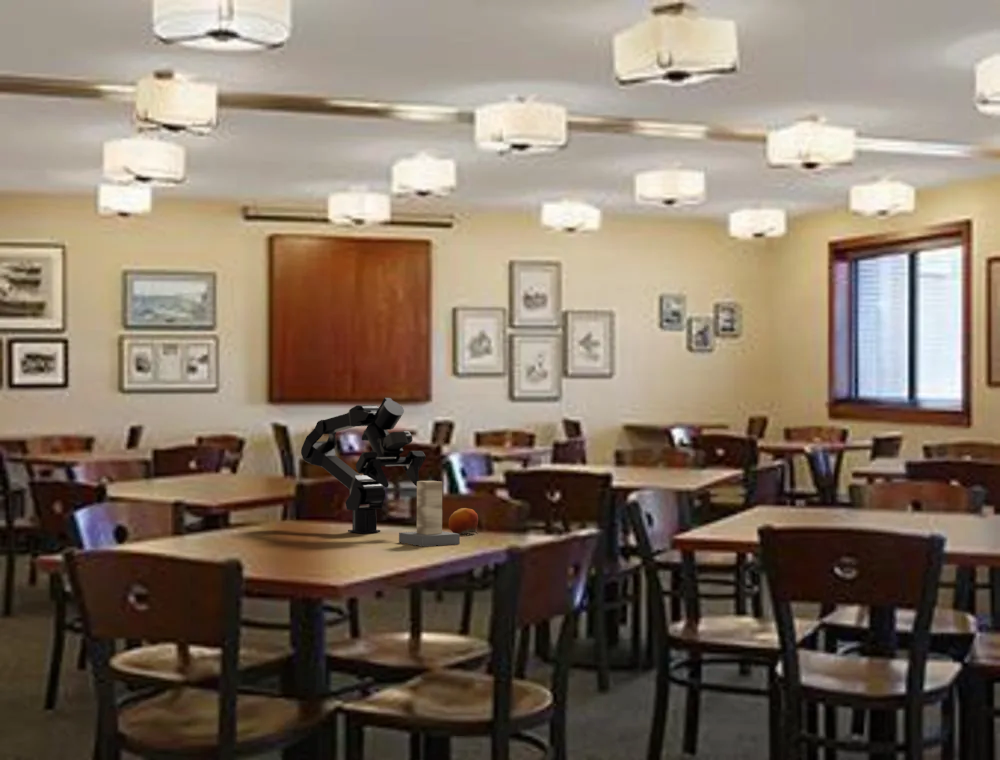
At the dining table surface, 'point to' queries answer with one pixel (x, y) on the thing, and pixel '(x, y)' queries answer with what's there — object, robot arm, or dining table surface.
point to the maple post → (429, 507)
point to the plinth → (429, 538)
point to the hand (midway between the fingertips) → (402, 485)
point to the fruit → (463, 521)
